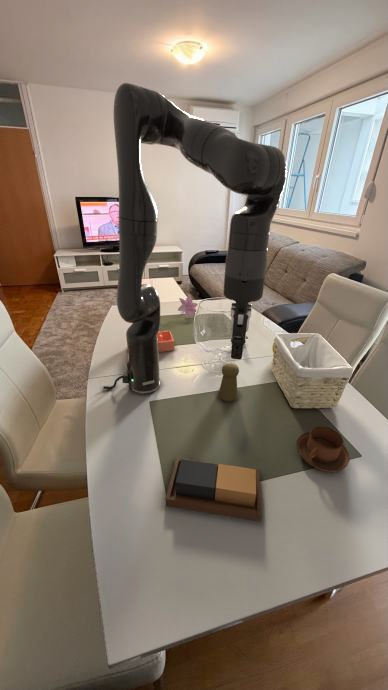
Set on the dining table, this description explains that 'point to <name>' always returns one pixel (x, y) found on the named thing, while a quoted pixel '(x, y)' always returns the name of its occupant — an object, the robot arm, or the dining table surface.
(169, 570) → the dining table surface
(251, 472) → the orange tan block
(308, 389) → the basket
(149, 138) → the robot arm
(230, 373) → the pawn chess piece
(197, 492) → the black rectangular block
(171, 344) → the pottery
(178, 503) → the brown wooden tray
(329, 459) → the cup and saucer
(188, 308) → the lily
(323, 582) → the dining table surface
